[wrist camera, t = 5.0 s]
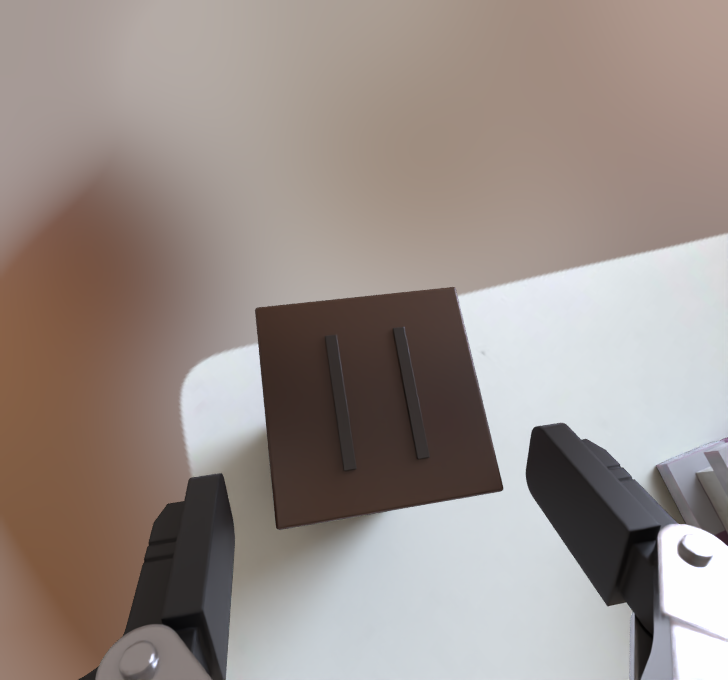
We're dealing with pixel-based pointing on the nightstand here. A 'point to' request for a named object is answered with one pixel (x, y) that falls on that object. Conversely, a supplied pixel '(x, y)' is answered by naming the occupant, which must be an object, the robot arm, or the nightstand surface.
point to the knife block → (371, 406)
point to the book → (701, 487)
